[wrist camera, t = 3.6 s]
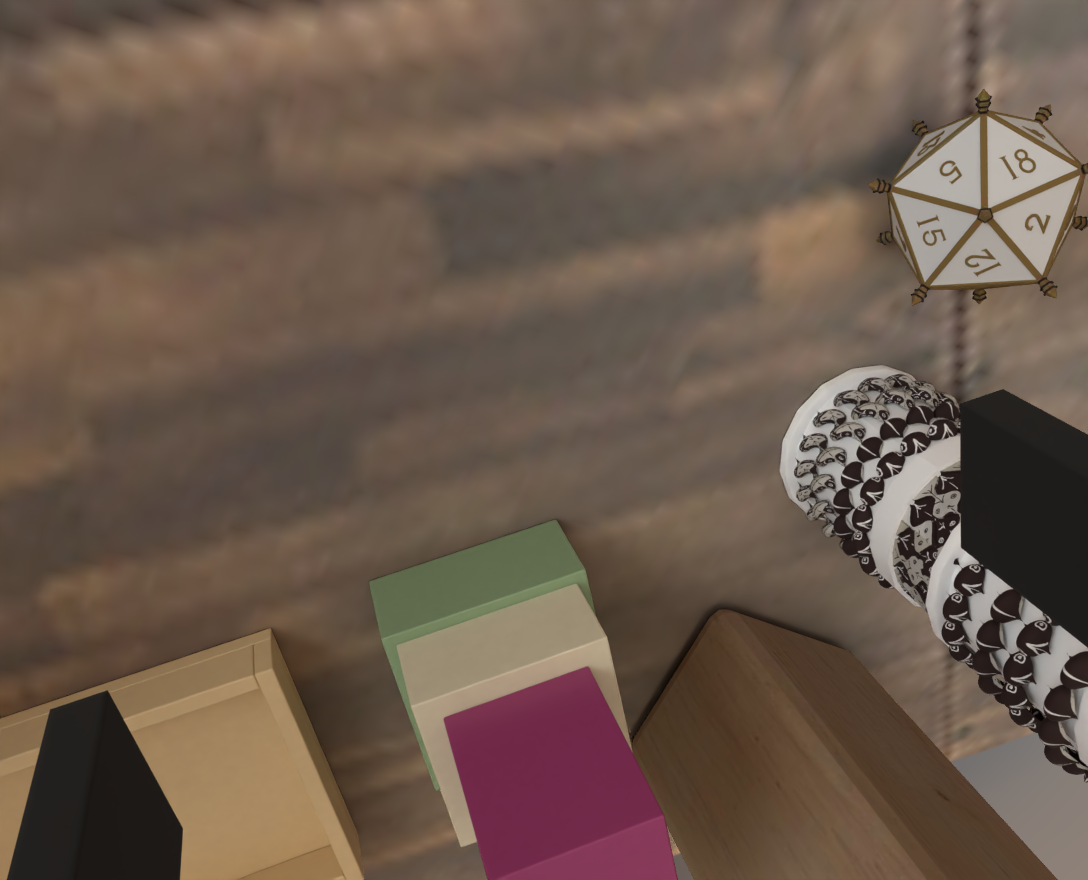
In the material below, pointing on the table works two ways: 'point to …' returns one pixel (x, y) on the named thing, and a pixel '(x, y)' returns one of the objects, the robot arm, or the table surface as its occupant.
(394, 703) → the table surface
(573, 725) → the mulberry block
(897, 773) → the wooden block
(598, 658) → the cream block
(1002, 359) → the table surface
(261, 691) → the tray
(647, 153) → the table surface
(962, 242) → the game die
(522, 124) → the table surface
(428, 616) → the sage block
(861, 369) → the leaning tower model
